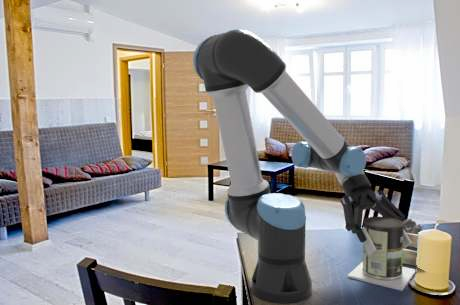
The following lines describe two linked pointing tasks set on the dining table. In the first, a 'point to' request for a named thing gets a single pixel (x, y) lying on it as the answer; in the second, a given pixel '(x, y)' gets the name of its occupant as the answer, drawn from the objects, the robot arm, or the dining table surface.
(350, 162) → the robot arm
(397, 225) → the coffee can
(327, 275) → the dining table surface
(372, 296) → the dining table surface
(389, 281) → the ceramic tile
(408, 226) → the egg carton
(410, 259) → the crate frame
